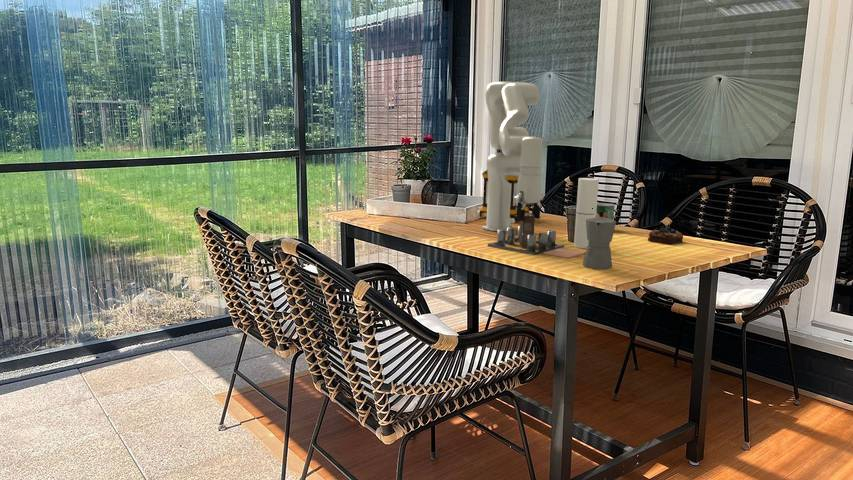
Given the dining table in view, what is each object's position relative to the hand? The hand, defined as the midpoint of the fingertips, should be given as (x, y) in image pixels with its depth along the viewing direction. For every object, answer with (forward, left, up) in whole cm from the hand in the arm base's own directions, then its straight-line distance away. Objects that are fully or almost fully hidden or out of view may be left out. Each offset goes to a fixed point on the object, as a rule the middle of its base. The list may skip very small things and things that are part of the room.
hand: (528, 219), depth 237 cm
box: (0, -1, -10) cm, 10 cm away
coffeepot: (+8, +32, -10) cm, 35 cm away
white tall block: (-17, +13, -10) cm, 24 cm away
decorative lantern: (-49, -46, -10) cm, 68 cm away
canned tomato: (-57, 0, -10) cm, 58 cm away
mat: (0, +15, -10) cm, 19 cm away
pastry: (-52, +30, -11) cm, 61 cm away
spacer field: (0, -1, -10) cm, 10 cm away
